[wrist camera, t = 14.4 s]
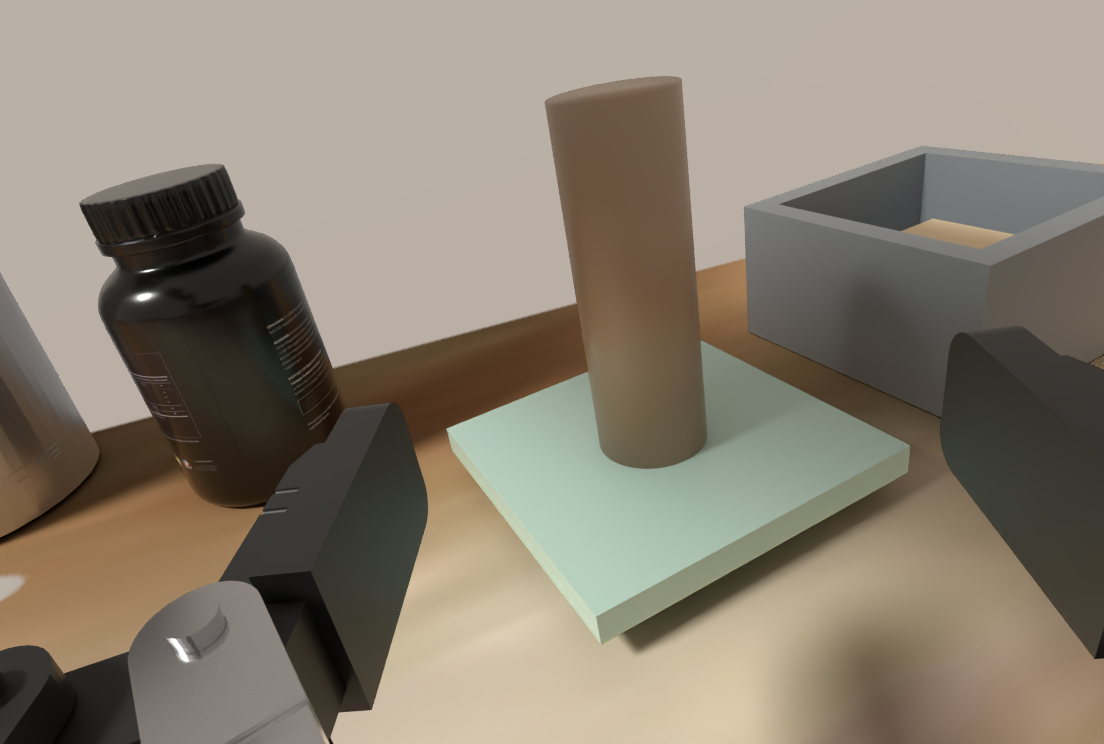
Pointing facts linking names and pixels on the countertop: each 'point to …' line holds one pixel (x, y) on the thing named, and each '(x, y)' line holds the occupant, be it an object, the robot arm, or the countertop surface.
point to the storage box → (928, 264)
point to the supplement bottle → (213, 332)
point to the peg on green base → (654, 395)
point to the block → (958, 233)
